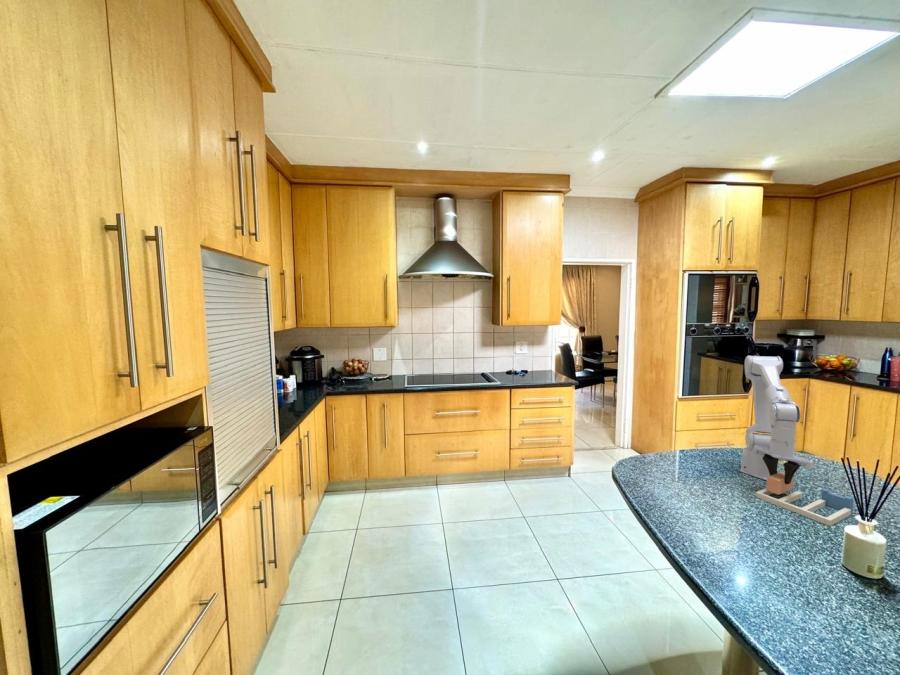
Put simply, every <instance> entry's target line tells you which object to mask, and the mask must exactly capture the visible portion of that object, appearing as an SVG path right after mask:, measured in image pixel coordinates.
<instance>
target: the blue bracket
mask: <svg viewBox="0 0 900 675" xmlns="http://www.w3.org/2000/svg"><path fill="white" fill-rule="evenodd" d="M820 492H821V499H822V500H825V501H826V506H828V507H829V508H830V507H831V508H833V509H835V510H838V511H840V510H841V509H843V508H848V509H851V515H852V514H854V511H853V510H854V497H852V496H848V495H847V496H845V497H844V496H841V495H839V494H835V493H834V492H833V493H832V492H830V490H829V489H827V488H824V487H823V488H821V489H820Z"/></svg>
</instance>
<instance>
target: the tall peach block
mask: <svg viewBox="0 0 900 675" xmlns="http://www.w3.org/2000/svg"><path fill="white" fill-rule="evenodd" d="M794 477H795V474H794V475H793V477H792V480H791V483H790V484H785V481H784V479H785V471H778V472H777V473H776V474H774V475H771V476H768V477H767V481H766V488H767V491H770V492H772V494H775V495H781V494H783V493H786V492H787V491H790V490H793V489H794Z"/></svg>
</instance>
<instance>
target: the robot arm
mask: <svg viewBox="0 0 900 675" xmlns="http://www.w3.org/2000/svg"><path fill="white" fill-rule="evenodd" d="M783 369H784V361H783V358H781V356H779V355H777V356H764V355H763V356H762V355H761V356H760V355H747V356H746V357H745V359H744V375H745V378H746V379H747V380H748V379H749V380H750V381H751V385H752V397H753V413H754V423H755V424H752V425H750V426H748V427H747V428H746V430H745V445H746V447H744V448H743V450H742V452H741V459H740V460H741V461H740V462H741V465H740V470H739V471H740V473H744V474H746V475H750V476H752V477H755V478H757V479H758V478H759V479H761V480H764V481H766V482H767V477H768V476H771V475H774V474H776V473H778V465H779V463H778V461H780V460H781V461H783V460H785V461H786V463H784V465H783V468H784V472H785V479H784V481H785V484H790V483H791V480H792V477H793V475H794V476H795V473H796V472H797V471H798V470H799V469H800V468H801V466H802V467H805V468H807V469H809V470H810V469H813V468H814V463H815V462H814V461H813V460H810V459H808V458H804V457H802V456H799V455H796V454H795V450H796V449H795V448H796V445H795V440H796V429H797V423H799V422H800V420H801V409H800V406H799V405H798V404H797V403H796V402H794V401H792V398H791V395H790V392H789V391H788V389H787V387H785V386H783V385H782V382H781V380H780V379H781V378H780V375H781V372H783Z"/></svg>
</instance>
